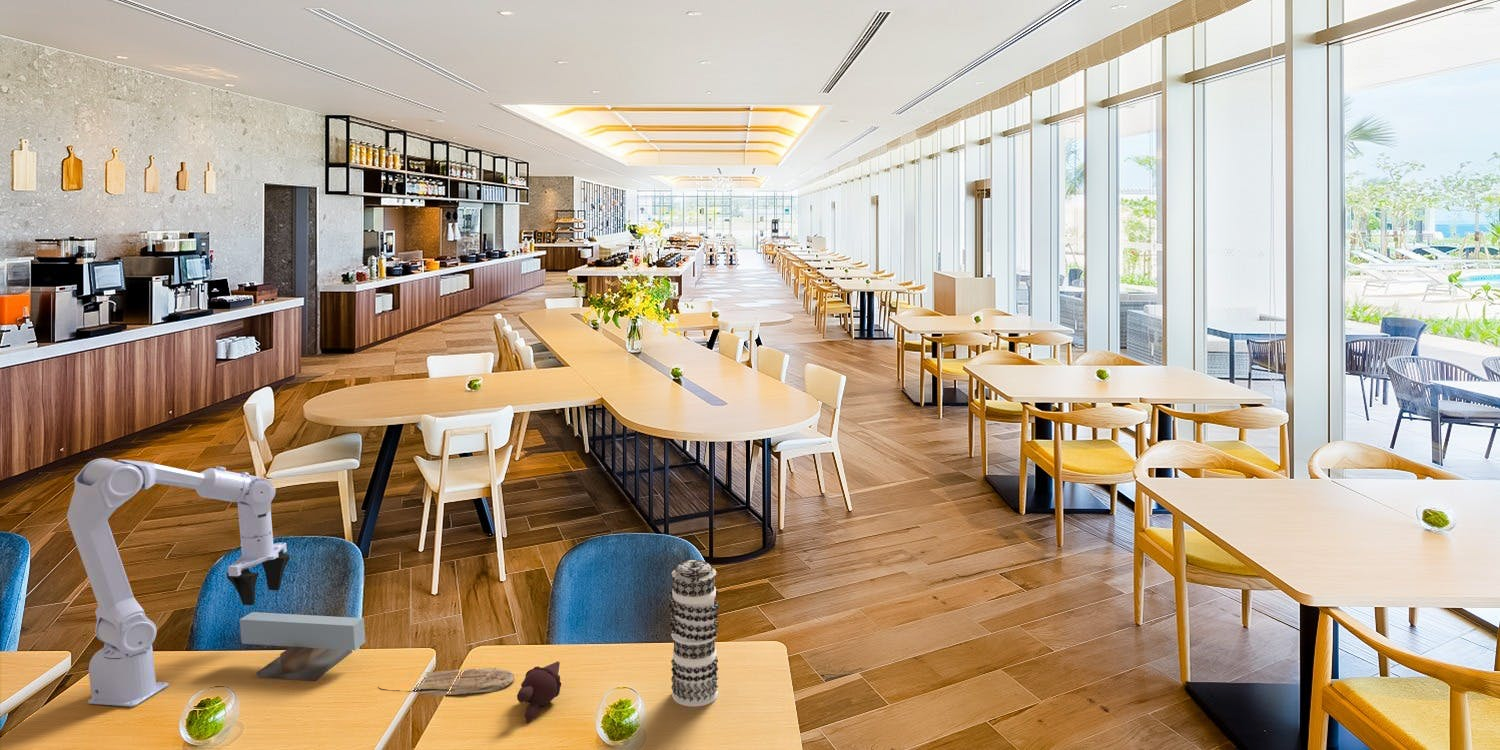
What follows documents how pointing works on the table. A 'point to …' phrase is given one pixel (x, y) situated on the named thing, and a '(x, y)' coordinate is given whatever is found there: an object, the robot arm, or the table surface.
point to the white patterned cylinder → (694, 634)
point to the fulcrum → (303, 663)
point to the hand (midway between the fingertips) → (261, 596)
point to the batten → (302, 631)
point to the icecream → (539, 688)
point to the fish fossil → (465, 681)
